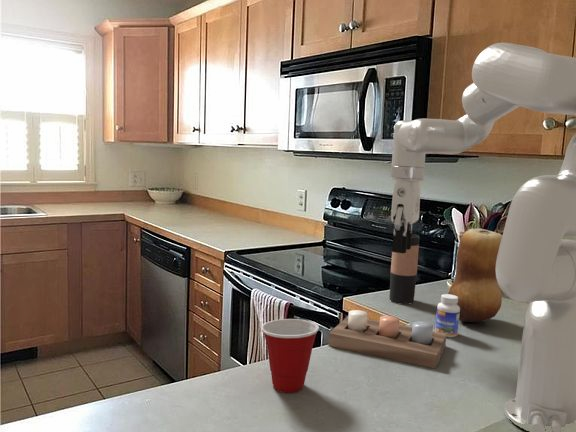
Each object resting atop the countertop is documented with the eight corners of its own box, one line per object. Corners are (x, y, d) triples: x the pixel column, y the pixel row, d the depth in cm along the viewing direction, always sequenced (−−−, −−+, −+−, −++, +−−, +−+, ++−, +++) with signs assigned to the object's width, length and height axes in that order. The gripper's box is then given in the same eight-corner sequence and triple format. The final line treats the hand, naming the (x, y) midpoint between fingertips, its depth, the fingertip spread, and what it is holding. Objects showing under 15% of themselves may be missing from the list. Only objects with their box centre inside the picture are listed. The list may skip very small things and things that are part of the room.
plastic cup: (291, 368, 105) (294, 311, 103) (327, 389, 97) (331, 328, 95) (247, 381, 98) (249, 321, 97) (282, 405, 90) (285, 340, 88)
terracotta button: (395, 340, 116) (396, 323, 115) (376, 336, 118) (377, 319, 117) (399, 334, 120) (401, 317, 119) (381, 330, 122) (382, 314, 121)
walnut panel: (436, 368, 108) (437, 354, 108) (328, 345, 118) (329, 333, 117) (445, 346, 121) (446, 333, 120) (347, 327, 130) (348, 315, 130)
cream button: (363, 334, 119) (364, 317, 119) (345, 330, 121) (346, 314, 120) (368, 328, 123) (369, 312, 122) (351, 324, 125) (352, 308, 124)
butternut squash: (492, 334, 130) (502, 236, 126) (439, 322, 137) (448, 229, 134) (504, 320, 141) (513, 230, 138) (455, 309, 149) (462, 224, 145)
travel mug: (383, 298, 157) (388, 233, 154) (403, 296, 160) (408, 232, 157) (398, 305, 150) (404, 238, 147) (419, 303, 153) (425, 237, 151)
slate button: (429, 347, 113) (431, 329, 112) (409, 343, 115) (410, 325, 114) (432, 340, 117) (434, 323, 116) (413, 336, 119) (414, 320, 118)
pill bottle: (432, 334, 128) (436, 296, 126) (437, 328, 132) (440, 291, 131) (455, 339, 125) (458, 300, 124) (459, 332, 130) (462, 295, 129)
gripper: (416, 176, 111) (410, 259, 114) (429, 174, 127) (423, 246, 129) (382, 174, 114) (376, 254, 117) (399, 172, 130) (394, 243, 132)
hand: (401, 249), depth 123 cm, fingers open, 4 cm apart
